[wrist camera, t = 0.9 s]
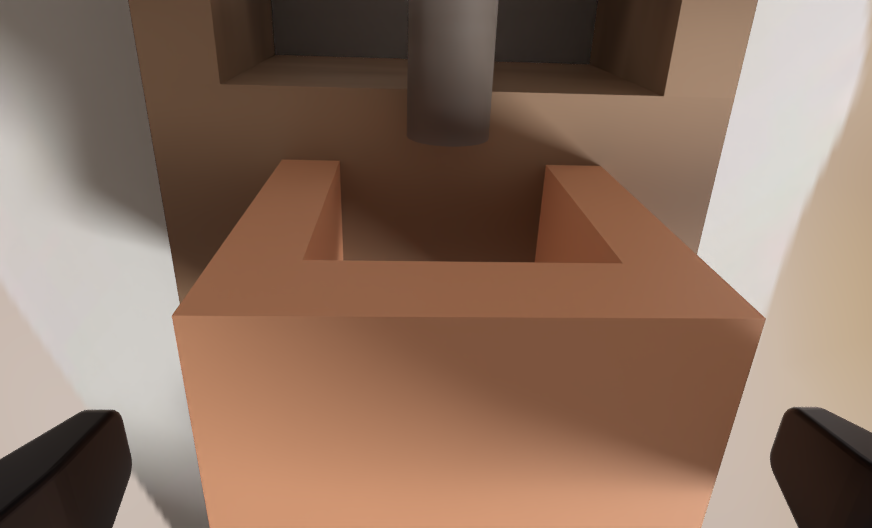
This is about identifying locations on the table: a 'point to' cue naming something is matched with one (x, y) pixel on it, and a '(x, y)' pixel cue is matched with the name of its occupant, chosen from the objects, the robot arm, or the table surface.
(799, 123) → the table surface
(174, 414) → the table surface
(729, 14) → the wooden divided tray
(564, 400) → the staple
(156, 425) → the table surface
